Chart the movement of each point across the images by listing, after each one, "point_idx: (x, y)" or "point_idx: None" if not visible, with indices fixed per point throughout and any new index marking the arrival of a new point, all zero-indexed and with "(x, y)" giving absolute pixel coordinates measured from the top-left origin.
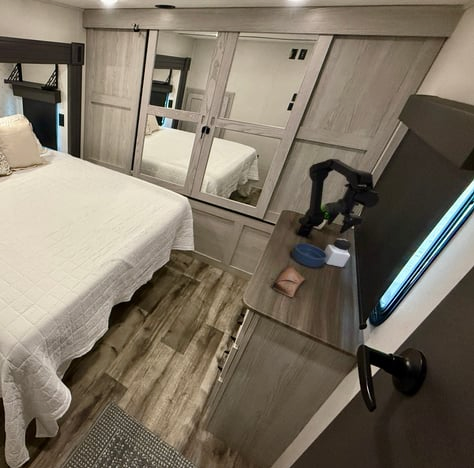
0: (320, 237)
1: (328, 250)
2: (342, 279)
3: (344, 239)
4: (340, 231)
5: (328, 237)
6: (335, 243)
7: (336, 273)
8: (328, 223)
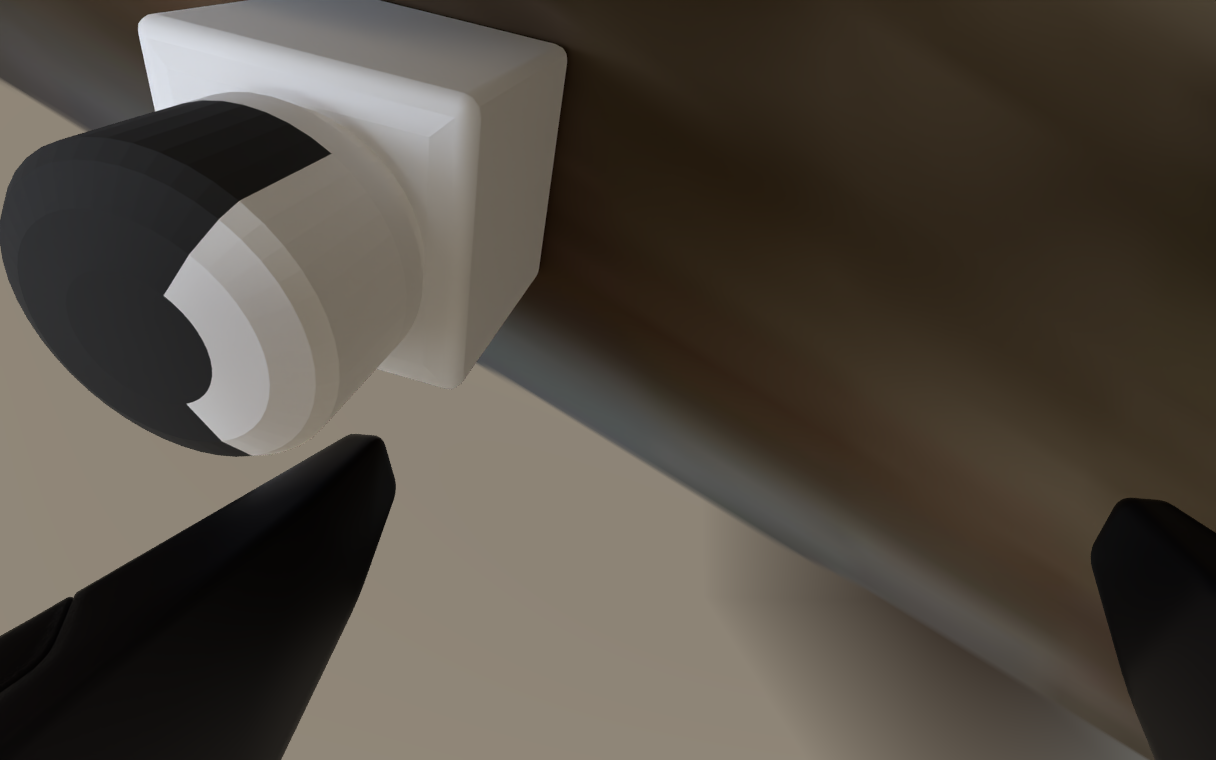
0: (1210, 425)
1: (370, 47)
2: (29, 22)
3: (253, 403)
4: (309, 468)
5: None
6: (165, 119)
7: (137, 17)
8: (1153, 534)
